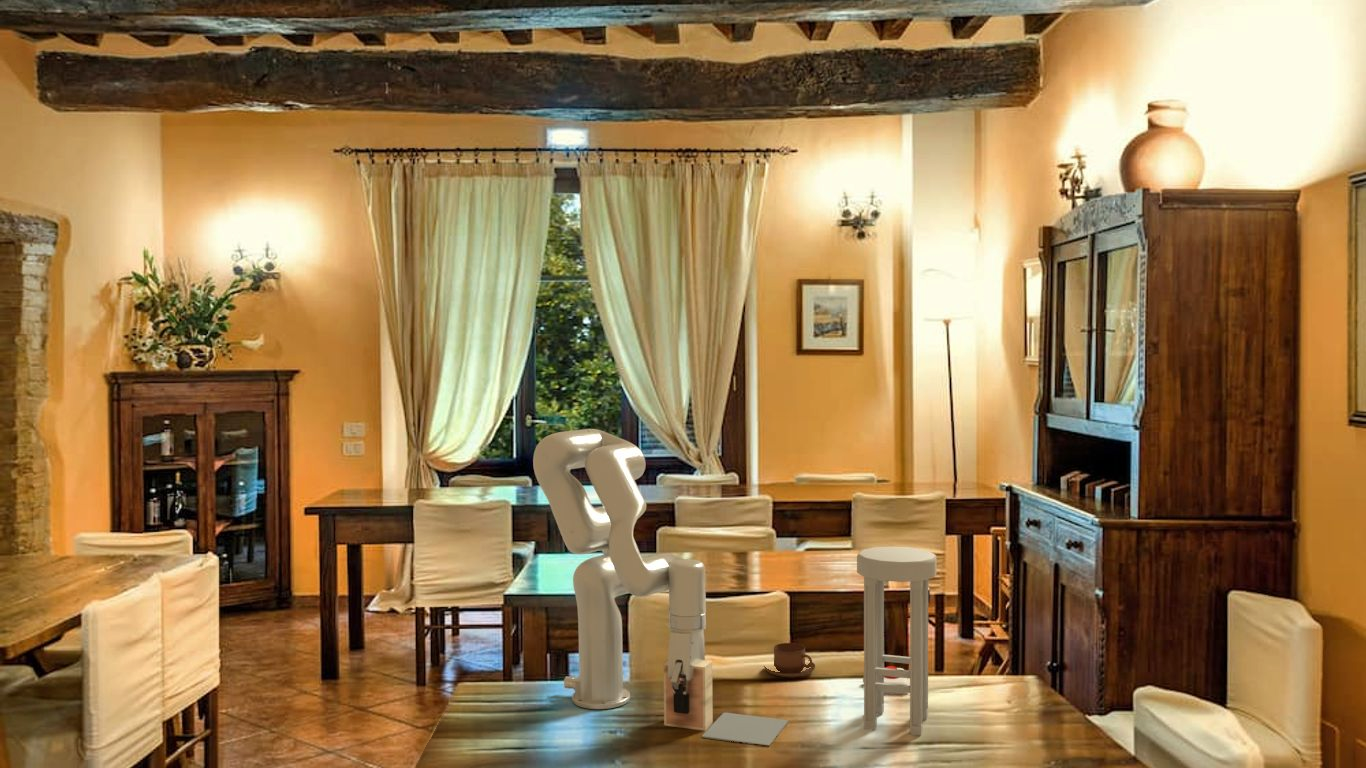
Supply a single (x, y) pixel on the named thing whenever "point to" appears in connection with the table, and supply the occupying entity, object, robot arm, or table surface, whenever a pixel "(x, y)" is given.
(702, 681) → the slab
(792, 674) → the cup and saucer
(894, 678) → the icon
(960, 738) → the table surface
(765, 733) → the mat
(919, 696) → the stool
